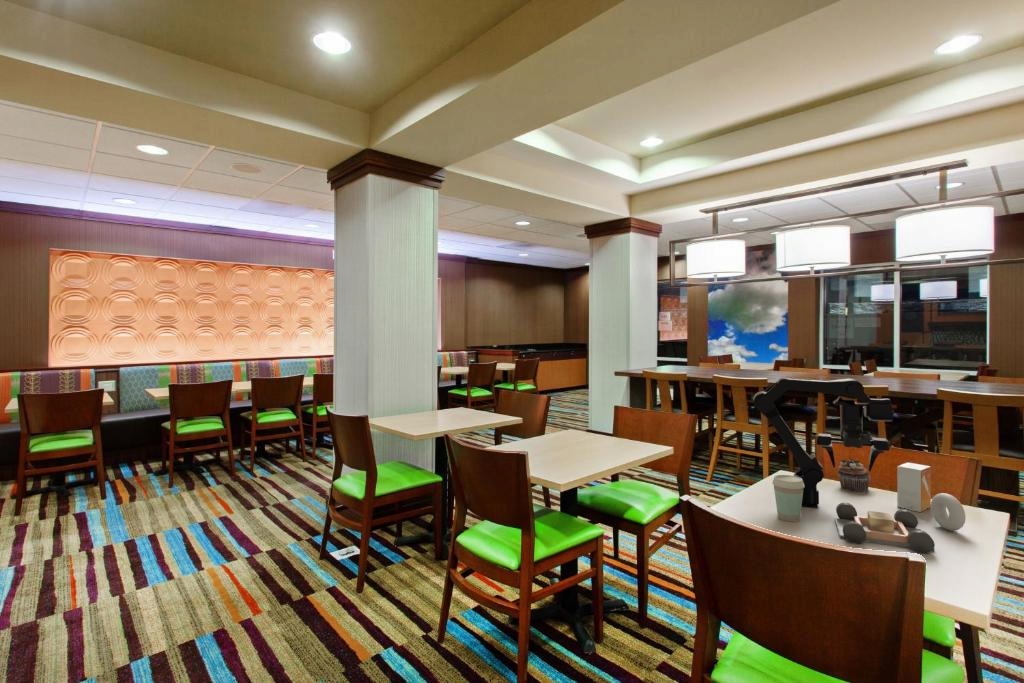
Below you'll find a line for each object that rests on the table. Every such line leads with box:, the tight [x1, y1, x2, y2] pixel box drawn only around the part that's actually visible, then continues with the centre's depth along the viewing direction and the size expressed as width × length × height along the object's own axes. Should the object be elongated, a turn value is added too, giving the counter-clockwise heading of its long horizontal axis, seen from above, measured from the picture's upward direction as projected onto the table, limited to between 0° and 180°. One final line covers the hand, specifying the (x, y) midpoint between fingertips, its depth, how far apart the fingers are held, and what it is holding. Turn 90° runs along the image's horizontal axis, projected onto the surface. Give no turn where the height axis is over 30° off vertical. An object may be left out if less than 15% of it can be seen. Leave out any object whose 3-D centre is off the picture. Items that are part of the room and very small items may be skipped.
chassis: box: [834, 502, 936, 554], centre depth 138 cm, size 20×19×5 cm
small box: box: [896, 462, 932, 513], centre depth 159 cm, size 8×6×13 cm
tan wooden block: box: [866, 510, 895, 534], centre depth 138 cm, size 5×6×4 cm
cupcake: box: [837, 458, 872, 493], centre depth 178 cm, size 10×10×10 cm
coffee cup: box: [772, 474, 805, 522], centre depth 152 cm, size 8×8×12 cm
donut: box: [930, 492, 967, 532], centre depth 141 cm, size 10×3×10 cm, turn 176°
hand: (851, 469), depth 158 cm, fingers open, 9 cm apart
